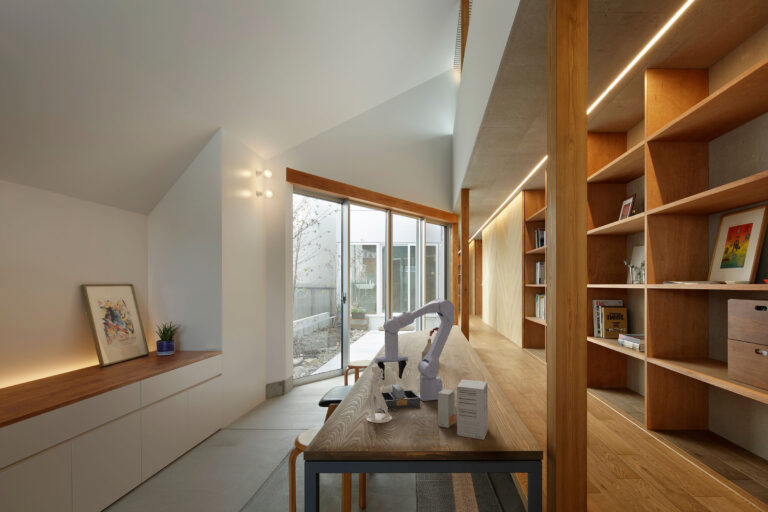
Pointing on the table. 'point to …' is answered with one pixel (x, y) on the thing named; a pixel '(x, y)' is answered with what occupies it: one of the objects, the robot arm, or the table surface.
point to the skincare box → (446, 408)
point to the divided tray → (401, 400)
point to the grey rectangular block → (397, 391)
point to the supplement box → (472, 409)
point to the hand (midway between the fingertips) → (391, 378)
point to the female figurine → (377, 398)
